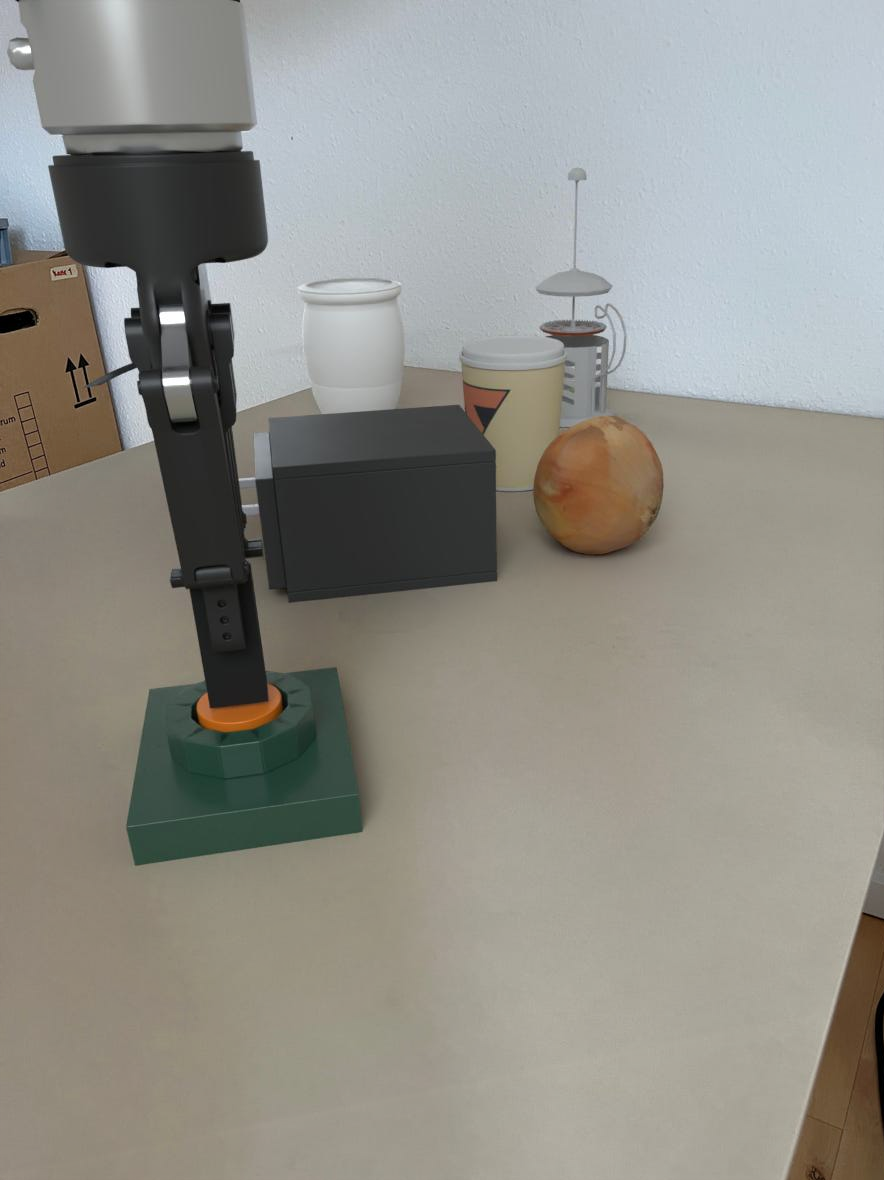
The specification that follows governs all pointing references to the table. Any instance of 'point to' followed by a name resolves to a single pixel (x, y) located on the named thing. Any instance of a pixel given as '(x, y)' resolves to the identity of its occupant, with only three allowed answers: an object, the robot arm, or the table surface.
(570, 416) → the french press
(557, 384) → the coffee cup
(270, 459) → the pull-out drawer
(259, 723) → the button
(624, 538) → the onion
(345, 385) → the jar
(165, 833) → the green button housing
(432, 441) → the drawer cabinet
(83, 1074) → the table surface
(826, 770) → the table surface
